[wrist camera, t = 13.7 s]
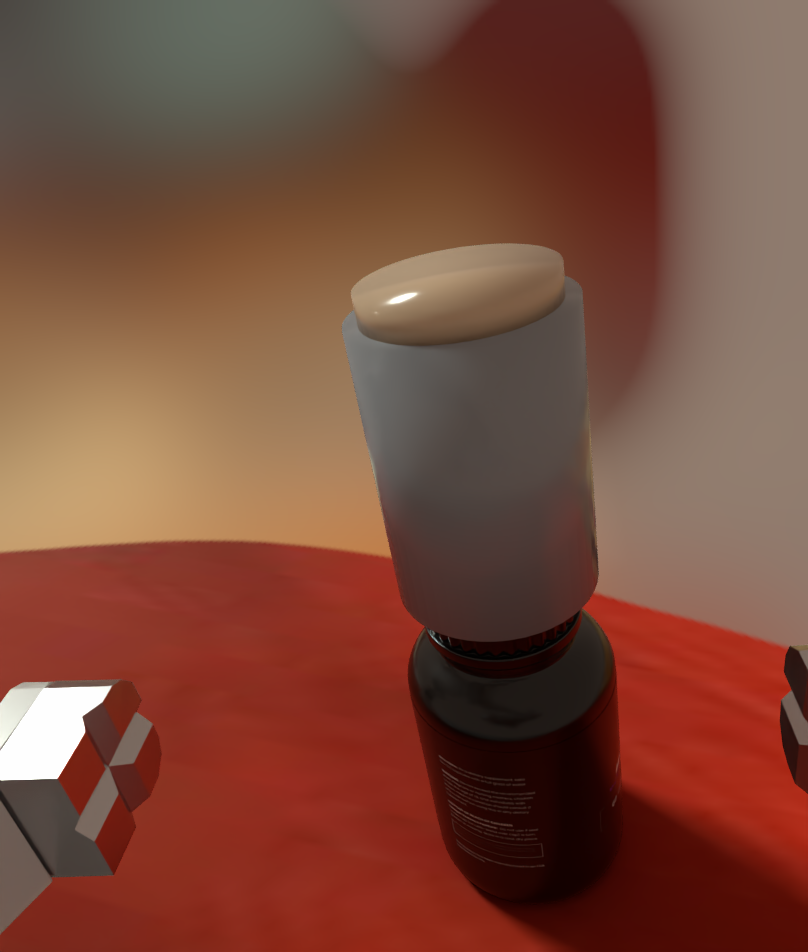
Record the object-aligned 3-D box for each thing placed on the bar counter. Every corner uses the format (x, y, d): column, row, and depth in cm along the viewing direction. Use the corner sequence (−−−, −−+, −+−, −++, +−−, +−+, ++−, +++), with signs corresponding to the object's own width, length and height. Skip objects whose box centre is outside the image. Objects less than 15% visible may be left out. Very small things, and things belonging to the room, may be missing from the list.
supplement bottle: (664, 835, 28) (665, 573, 22) (518, 954, 25) (475, 691, 19) (539, 723, 33) (512, 487, 27) (408, 811, 31) (347, 571, 25)
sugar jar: (387, 647, 21) (311, 332, 17) (409, 525, 26) (356, 258, 22) (610, 635, 20) (592, 295, 16) (588, 510, 25) (570, 227, 21)
